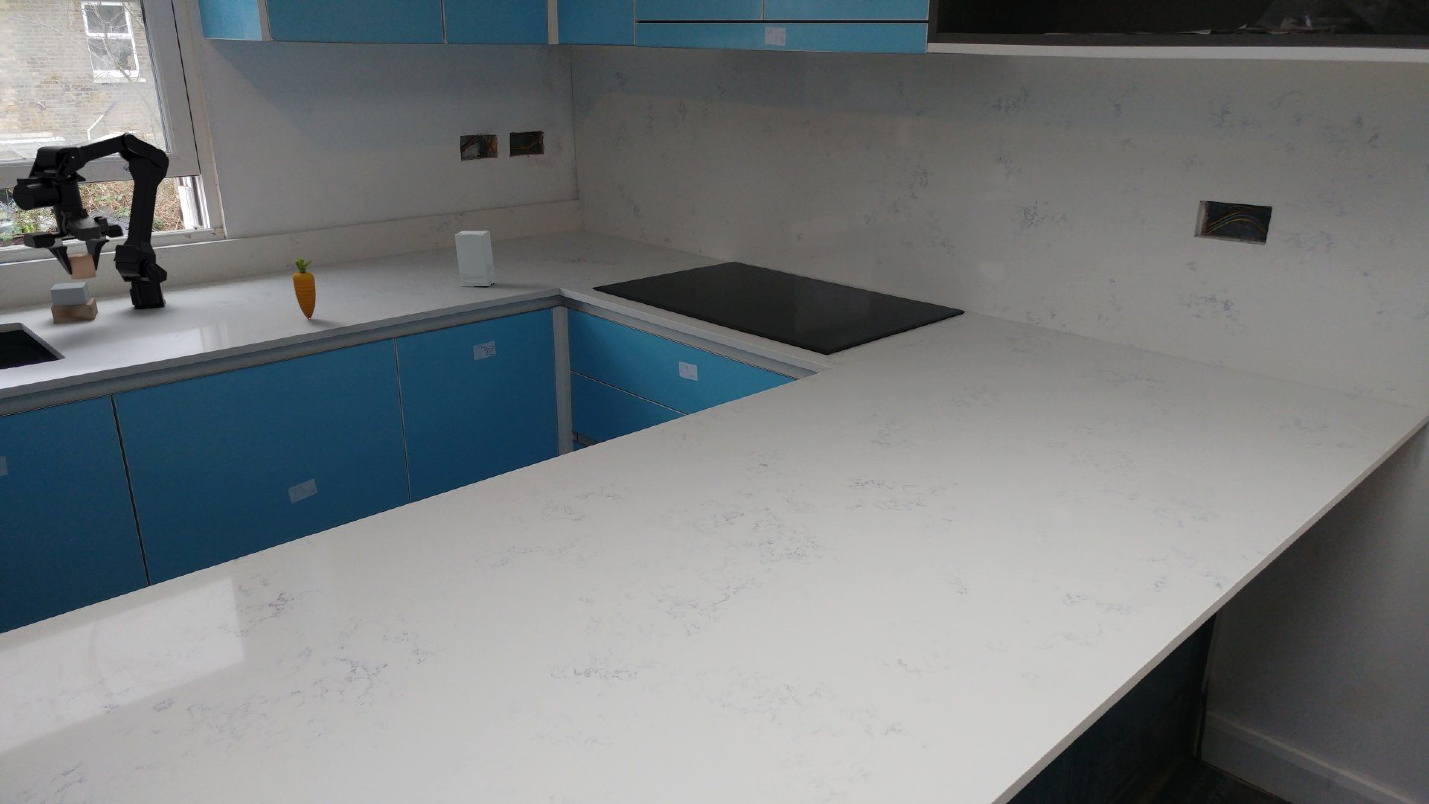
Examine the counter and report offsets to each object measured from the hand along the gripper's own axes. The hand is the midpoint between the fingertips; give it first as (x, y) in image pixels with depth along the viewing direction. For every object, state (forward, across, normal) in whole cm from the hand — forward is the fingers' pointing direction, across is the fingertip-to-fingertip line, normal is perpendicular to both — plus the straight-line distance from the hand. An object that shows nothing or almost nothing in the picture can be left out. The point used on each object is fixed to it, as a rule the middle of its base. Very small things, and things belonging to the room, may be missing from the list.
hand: (82, 272), depth 218 cm
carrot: (+12, +30, -39) cm, 50 cm away
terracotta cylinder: (+1, 0, 0) cm, 1 cm away
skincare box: (+13, +79, -44) cm, 92 cm away
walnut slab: (+12, 0, +8) cm, 15 cm away
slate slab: (+8, 0, +8) cm, 12 cm away
